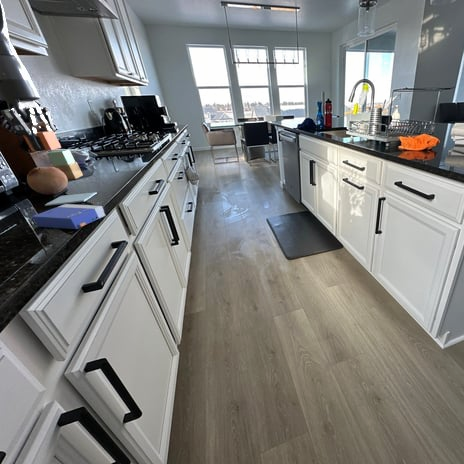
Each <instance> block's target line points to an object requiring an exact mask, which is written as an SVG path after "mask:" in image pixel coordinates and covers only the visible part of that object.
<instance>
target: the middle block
mask: <svg viewBox="0 0 464 464" xmlns="http://www.w3.org/2000/svg"><path fill="white" fill-rule="evenodd" d="M46 154H47V156H48V158H49V160H50V163H51V164H52V166H61V165H69V164H72V163H75V162H76V160H75V158H74V156H73V154H72V152H71V149H56V150H51V151H48V152H46Z"/></svg>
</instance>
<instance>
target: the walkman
mask: <svg viewBox="0 0 464 464" xmlns="http://www.w3.org/2000/svg"><path fill="white" fill-rule="evenodd" d="M103 217H106V213H105V210H104V207H103V205H90V204H75V203H67V204H61V205H60V206H57V207H54V208H50V209H48V210H45V211H43V212H39V213H37V214H34V215H32V216H31V218H32V220H33V221H34V223H35V224H36V226H37V227H38V228H51V229H52V228H53V229H65V230H66V229H70V230H78V229H80V228H82V227H85V226H86V225H89V224H90V223H93V222H95V221H97V220H99V219H101V218H103Z"/></svg>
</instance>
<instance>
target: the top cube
mask: <svg viewBox="0 0 464 464" xmlns="http://www.w3.org/2000/svg"><path fill="white" fill-rule="evenodd" d="M37 134H38V136H39V138H40V140H41V141H42V143H43V145H44V147H45V150H44V151H43V152H46V151H55V150H59V149H61V148H62V146H61V143H60V142H59V140H58V138H57V135H56V134H55V130H54V131H42V132H38V131H37ZM22 136H23V138H24V140H25V142H26V144H27V145H28V148H29V149H30V151H31V152H36V151H35V150H34V148H33V147H32V145H31V143H30V142H29V140H28V138H27V137H25V136H24V135H22Z"/></svg>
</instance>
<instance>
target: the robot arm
mask: <svg viewBox="0 0 464 464" xmlns="http://www.w3.org/2000/svg"><path fill="white" fill-rule="evenodd" d="M40 98H41V97H40V95H39V93H38V91H37V89H36V87H35V85H34V83H33V81H32V79H31V77H30V74H29V72H28V70H27V69H26V66H25V65H24V64H23V62H22V60H21V59H20V57H19V55H18V52H17V51H16V48H15V47H14V45H13V42H12V41H11V39H10V36H9V31H8V25H7V21H6V15H5V10H4V6H3V3H2V0H0V101H3V102H4V101H5V102H6V103H7V109H2V110H0V114H1V115H2V116H3V118H4V120H6V122H7V123H8V124H9V126H11V128H12V129H13V130H14V132H15V133H16V134H17V135H18V136H23V135H24V136H25V137H27V138H28V140H29V142H30V143H31V145H32V147H33V148H34V150H35V151H34V152H45V151H44V150H45V147H44V145H43V143H42V141H41V140H40V138H39V136H38V134H37V132H42V131H54V132H55V130H56V128H55V125H54V123H53V118H52V116H51V113H50V110H49V109H48V108H42V107H40V105H39V104H38V103H37V101H38V100H40ZM24 136H23V137H24Z"/></svg>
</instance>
